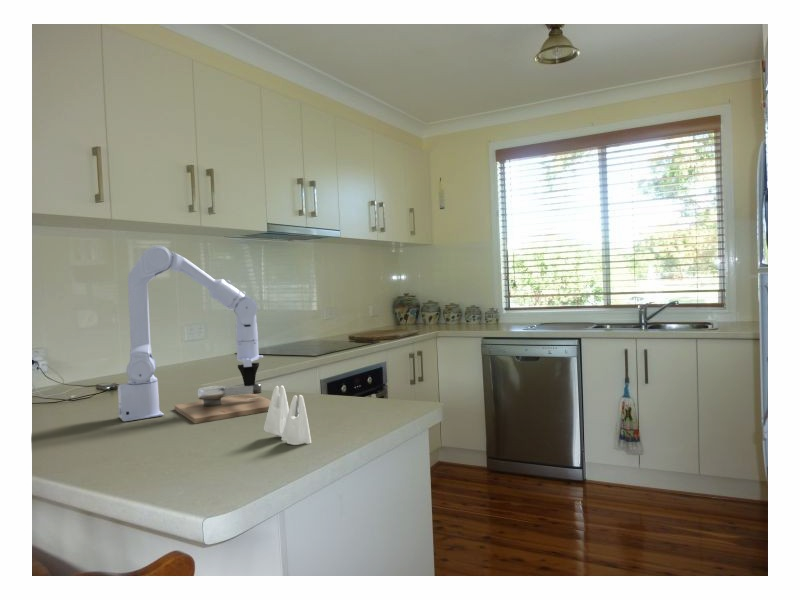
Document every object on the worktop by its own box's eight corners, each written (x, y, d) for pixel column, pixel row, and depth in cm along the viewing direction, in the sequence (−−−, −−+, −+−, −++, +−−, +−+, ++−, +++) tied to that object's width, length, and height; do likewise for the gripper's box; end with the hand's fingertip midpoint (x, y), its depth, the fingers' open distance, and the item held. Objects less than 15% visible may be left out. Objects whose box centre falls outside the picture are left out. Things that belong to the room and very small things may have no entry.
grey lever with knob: (196, 400, 146) (196, 391, 146) (199, 395, 153) (199, 387, 153) (261, 394, 150) (261, 385, 150) (261, 390, 157) (260, 381, 157)
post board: (195, 423, 134) (194, 411, 134) (174, 409, 153) (173, 398, 152) (282, 409, 146) (281, 397, 146) (253, 397, 165) (253, 387, 165)
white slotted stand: (262, 438, 118) (260, 385, 118) (280, 433, 121) (277, 382, 121) (295, 447, 110) (292, 391, 109) (313, 442, 113) (310, 387, 112)
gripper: (262, 341, 148) (264, 393, 148) (262, 337, 162) (264, 384, 163) (234, 343, 147) (237, 395, 147) (236, 339, 161) (239, 386, 161)
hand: (249, 390), depth 155 cm, fingers closed
